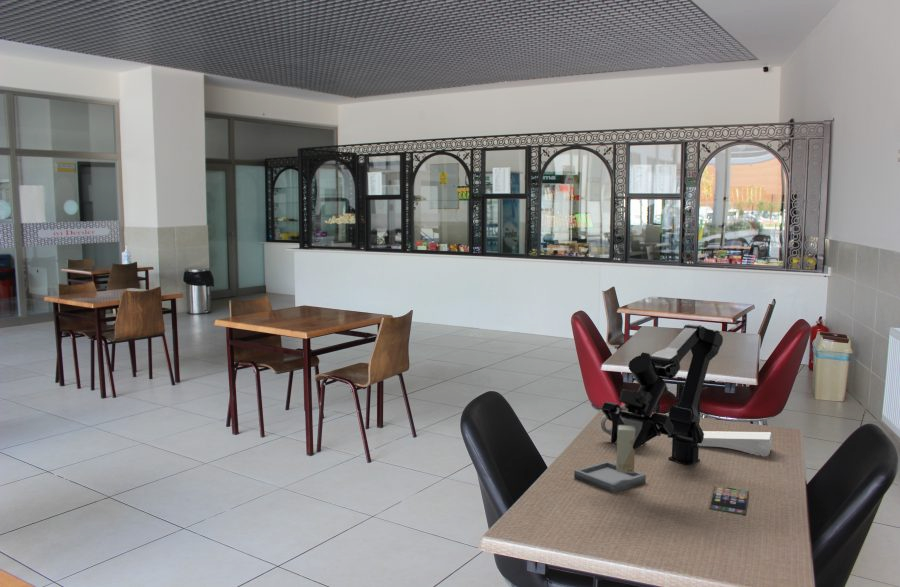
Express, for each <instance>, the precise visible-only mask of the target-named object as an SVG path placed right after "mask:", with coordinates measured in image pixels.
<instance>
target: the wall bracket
mask: <svg viewBox="0 0 900 587" xmlns="http://www.w3.org/2000/svg"><path fill="white" fill-rule="evenodd" d="M702 431H703V433H704V438H703V441H702V443H698V445H699V446H698V447H716V448H724V449H732V450H737V451H741V452H743V453H747V454H751V455H753V454H755V455H754V456H759V455H761V456H760V457H765V456H766V457H768V456H769V455H770V452H771V448H772V445H773V440H772V432H770V431H768V432H767V431H725V430H724V431H723V430H722V431H721V430H720V431H717V430H712V431H711V430H708V431H707V430H702ZM670 440H671V441H673V438H670Z"/></svg>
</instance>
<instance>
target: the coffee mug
mask: <svg viewBox="0 0 900 587" xmlns="http://www.w3.org/2000/svg"><path fill="white" fill-rule="evenodd" d="M619 406H620V407H621V409H622V410H624V411H628V409H627V408H626V407H625V406H624V405H622V406H621V405H619ZM607 420H608V418H607V417H606V416H605V414H604V415H603V416H602V417H601V419H600V427H601V430H602V432H603V433H605V434H607V435H610V436H611V435H612V425H611V427H610V428H607V427H606V421H607ZM623 422H624V424H625V425H631V426H635V430H636V434H635V440H636V438H637V436H638V434H639V433H640V431H641V429H642V422H637V421H633V420H629V419H624V421H623ZM615 443H617V440H616V442H615ZM615 443H614V444H615ZM645 444H646V443H644V444H643V446H645Z"/></svg>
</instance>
